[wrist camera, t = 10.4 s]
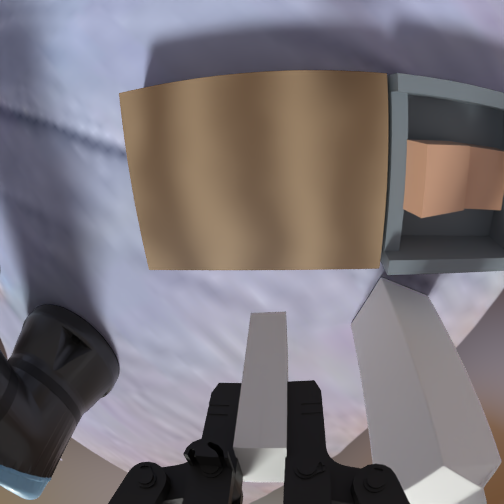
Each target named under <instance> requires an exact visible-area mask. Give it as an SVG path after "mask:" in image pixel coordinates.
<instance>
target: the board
mask: <svg viewBox="0 0 504 504" xmlns="http://www.w3.org/2000/svg"><path fill="white" fill-rule="evenodd" d="M119 97H120V106H121V115H122V124H123V131H124V139H125V146H126V153H127V160H128V166H129V172H130V178H131V184H132V190H133V195H134V201H135V206H136V211H137V216H138V221H139V226H140V231H141V236H142V240H143V245H144V249H145V254H146V258H147V263H148V267H149V270H316V269H377V268H379V266H380V258H381V250H382V240H383V230H384V219H385V207H386V192H387V172H388V84H387V73H375V72H361V71H338V70H289V71H266V72H251V73H239V74H229V75H220V76H211V77H204V78H196V79H190V80H183V81H177V82H171V83H165V84H160V85H155V86H150V87H145V88H140V89H136V90H131V91H127V92H123V93H119Z"/></svg>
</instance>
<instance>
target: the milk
mask: <svg viewBox="0 0 504 504" xmlns="http://www.w3.org/2000/svg"><path fill="white" fill-rule="evenodd" d="M351 328H352V333H353V338H354V343H355V348H356V354H357V359H358V365H359V370H360V376H361V382H362V388H363V394H364V401H365V407H366V414H367V421H368V428H369V436H370V444H371V452H372V461H373V464H383V465H386V466H387V467H389V468H391V469H392V470H393V472H394V473H395V474H396V476H397V478H398V480H399V482H400V484H401V486H402V488H403V490H404V492H405V494H406V496H407V499H408V501H409V503H410V504H487V502H486V497H485V493H484V486H485V485H486V484H487V482H488V481H489V479H490V478H491V477H492V475H493V474H494V472H495V471H496V470H497V468H498V467H499V465H500V463H501V459H500V455H499V452H498V449H497V447H496V443H495V441H494V438H493V435H492V432H491V429H490V427H489V424H488V422H487V419H486V416H485V414H484V411H483V409H482V406H481V404H480V401H479V399H478V397H477V394H476V392H475V389H474V387H473V385H472V382H471V380H470V378H469V376H468V374H467V372H466V369H465V367H464V365H463V363H462V361H461V359H460V356H459V354H458V352H457V350H456V348H455V346H454V344H453V342H452V340H451V338H450V336H449V334H448V332H447V330H446V328H445V326H444V324H443V323H442V321H441V319H440V317H439V315H438V313H437V311H436V309H435V308H434V306H433V304H432V302H431V300H430V299H429V297H428V296H427V295H424V294H422V293H420V292H417V291H415V290H412V289H410V288H407V287H405V286H402V285H400V284H397V283H395V282H392V281H390V280H387V279H385V278H382V277H381V278H380V279H379V281H378V283H377V284H376V286H375V287H374V289H373V291H372V292H371V294H370V296H369V297H368V299H367V300H366V302H365V303H364V305H363V307H362V308H361V310H360V311H359V313H358V314H357V316H356V317H355V319H354V320H353V322H352V323H351Z"/></svg>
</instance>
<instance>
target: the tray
mask: <svg viewBox="0 0 504 504" xmlns="http://www.w3.org/2000/svg"><path fill="white" fill-rule="evenodd" d="M387 84H388V172H387V192H386V207H385V219H384V230H383V240H382V250H381V258H380V261H381V263H382V265H383V267H384V269H385V271H386V273H387V275H408V274H438V273H464V272H486V271H504V195H503V201H502V207H501V210H485V209H464V210H462V211H457V212H452V213H446V214H441V215H436V216H430V217H425V218H420V217H418V216H416V215H414V214H412V213H410V212H408V211H406V210H404V209H403V203H404V191H405V176H406V156H407V140H438V141H453V142H459V143H467V144H474V145H481V146H487V147H494V148H498V149H500V150H503V151H504V93H503V92H499V91H495V90H491V89H487V88H483V87H478V86H474V85H469V84H465V83H460V82H455V81H449V80H444V79H438V78H432V77H425V76H418V75H410V74H402V73H395V74H391V75H387Z"/></svg>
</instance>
